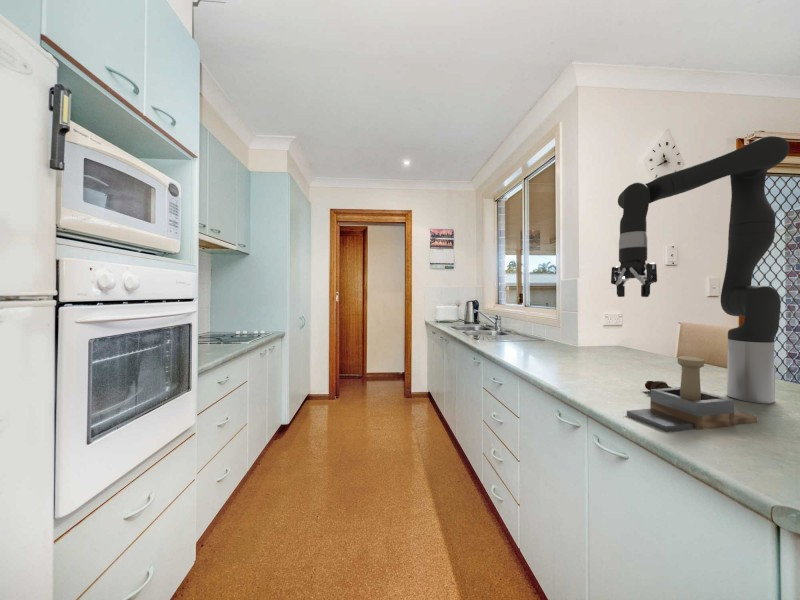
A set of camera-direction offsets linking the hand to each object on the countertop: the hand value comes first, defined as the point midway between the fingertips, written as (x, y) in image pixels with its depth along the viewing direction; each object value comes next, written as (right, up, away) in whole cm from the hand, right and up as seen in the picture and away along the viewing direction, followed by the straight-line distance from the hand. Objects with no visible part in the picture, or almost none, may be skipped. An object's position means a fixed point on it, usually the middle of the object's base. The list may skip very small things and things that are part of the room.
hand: (632, 296), depth 104 cm
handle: (-4, -31, -25) cm, 40 cm away
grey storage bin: (-8, -31, -26) cm, 41 cm away
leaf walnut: (0, -31, -24) cm, 39 cm away
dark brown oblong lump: (+3, -31, -10) cm, 32 cm away
